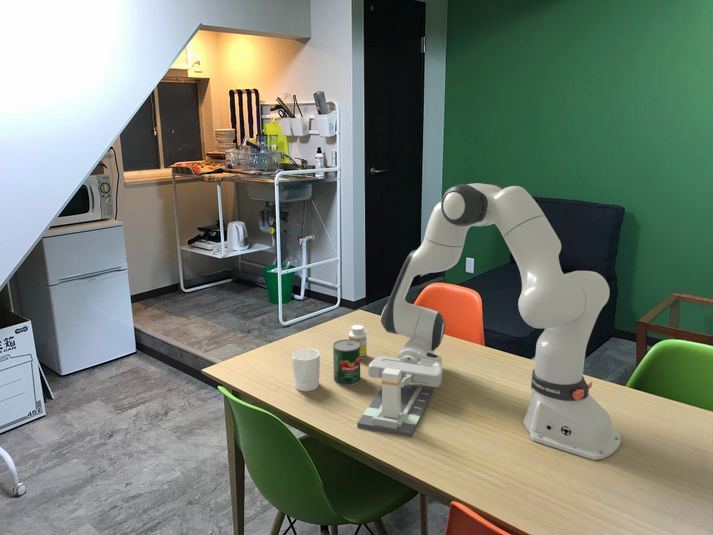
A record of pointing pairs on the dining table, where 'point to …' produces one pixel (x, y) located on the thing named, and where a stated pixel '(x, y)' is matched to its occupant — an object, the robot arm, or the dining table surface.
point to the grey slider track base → (409, 418)
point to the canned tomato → (346, 362)
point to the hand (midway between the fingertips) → (397, 384)
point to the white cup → (306, 369)
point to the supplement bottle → (359, 339)
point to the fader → (391, 392)
